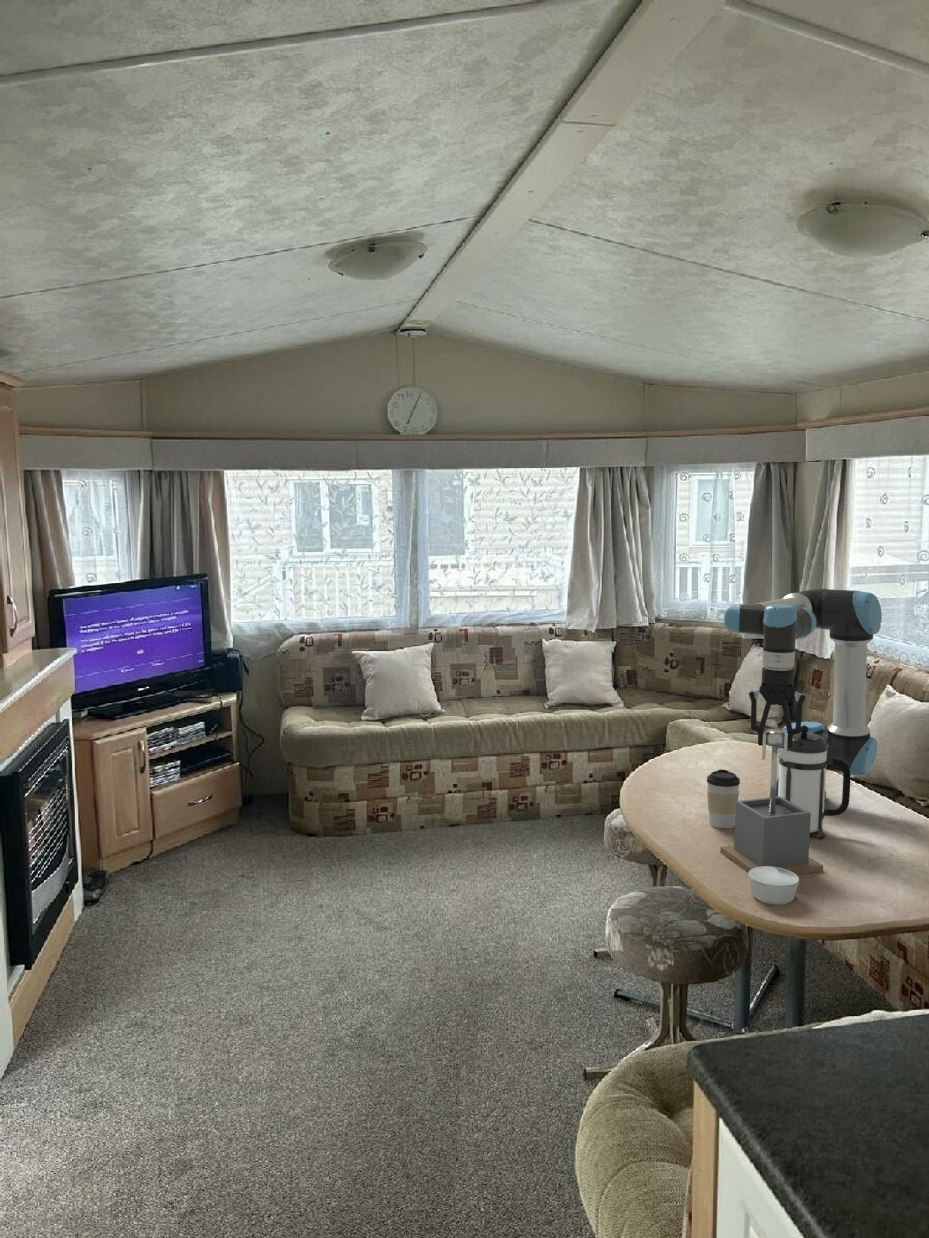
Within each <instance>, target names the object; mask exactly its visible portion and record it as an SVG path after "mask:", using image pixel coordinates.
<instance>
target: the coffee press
mask: <svg viewBox="0 0 929 1238" xmlns="http://www.w3.org/2000/svg"><path fill="white" fill-rule="evenodd" d="M808 730H809V729H808V727H807V726H805V725H803V726H801V732H800V734H795V735H793V740H792V748H787V762H784V761H783V759H784V746H782V747H778V763H779V764H778V765H779V767H778V770H779V771H778V776H779V787H778V796H781V797H782V798H784V799H786V800H788V801H790V802H792V803H793V804H795V805H797V806H799V807H801V808H803V809H804V810H806V811H808V812H810V813H811V816H810V834H811V833H814V834H815V835H816V837H817V838H818V839H819V840H821V839H822V840H823V839H825V838H826V834H825V832H824V830H823V826H824V819H825V817H836V816H839V815H842V814H844V813H845V811H847V810H848V807H849V804H850V796H851V794H850V793H851V775H850V770H849V768H848V766H847V765H846V763H845V762H844V761H842V760H840V759H837V758H833V759H828V758H826V757H827V751H828V748H829V746H828V744H827V743H826V741H825V739H824V738H823V737H821V736H819V735H817V734H813V733H808ZM827 764H833V765H837V766H839V767H841V769H842V771H843V773H842V796H841V802H840V805H839V806H838V807H836V808H825V802H824V799H825V791H826V774H827V770H826V767H827Z"/></svg>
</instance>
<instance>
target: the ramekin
mask: <svg viewBox="0 0 929 1238" xmlns="http://www.w3.org/2000/svg"><path fill="white" fill-rule="evenodd" d="M747 873H748V872H747ZM747 875H748V880H749V886H750V892H751V894H752V896H753V898H755V899H756V900H758V901H759V902H761V903H764V904H767V905H768V904H769V905H776V906H777V905H787V904H789V903H791V902H792V901H794V900H795V897H796V893H797V890H798V886H799V884H800V878H799V875H796V874H794V873H793V872H791V871H789V870H786V869H783V868H778V867H771V866H762V867H756V868H753V869H751V870H750V871H749V873H748V874H747Z"/></svg>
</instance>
